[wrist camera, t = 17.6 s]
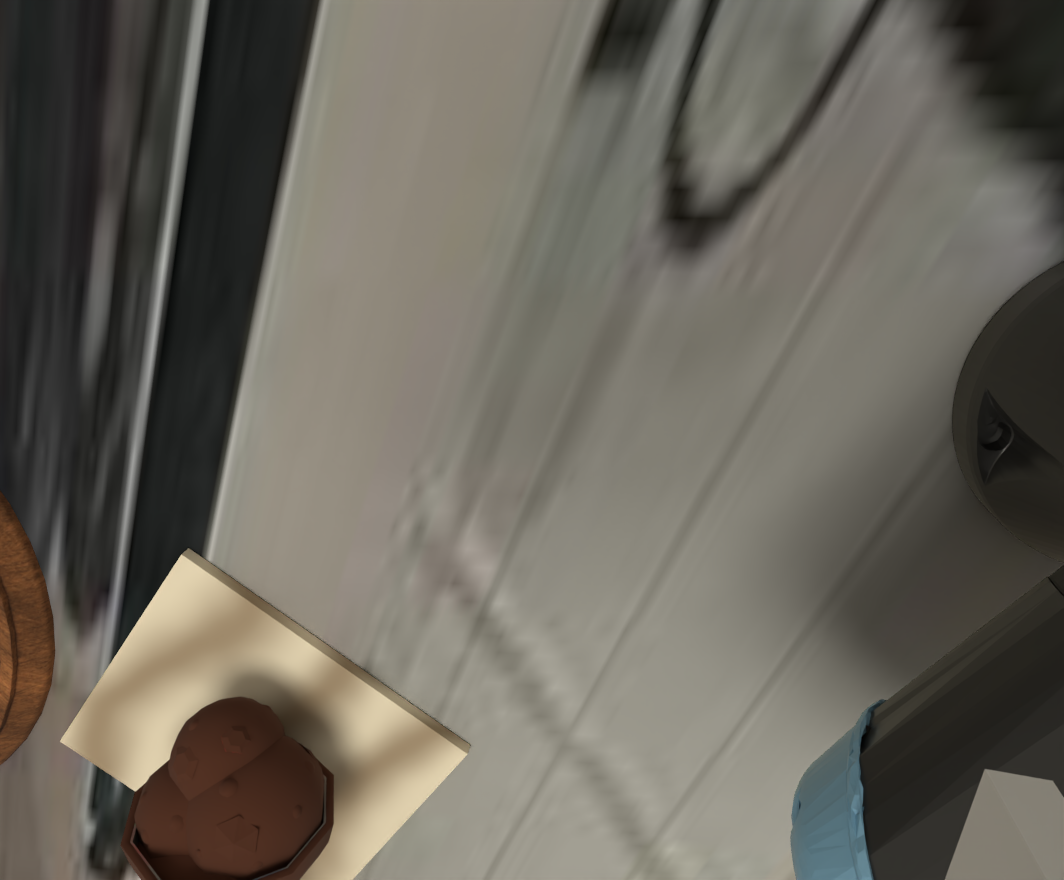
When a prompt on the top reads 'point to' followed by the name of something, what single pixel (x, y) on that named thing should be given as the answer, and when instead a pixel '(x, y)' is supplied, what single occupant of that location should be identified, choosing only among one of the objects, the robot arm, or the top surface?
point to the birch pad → (271, 679)
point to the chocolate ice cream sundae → (231, 801)
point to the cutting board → (22, 634)
